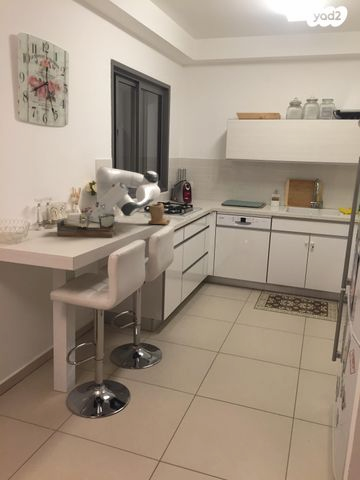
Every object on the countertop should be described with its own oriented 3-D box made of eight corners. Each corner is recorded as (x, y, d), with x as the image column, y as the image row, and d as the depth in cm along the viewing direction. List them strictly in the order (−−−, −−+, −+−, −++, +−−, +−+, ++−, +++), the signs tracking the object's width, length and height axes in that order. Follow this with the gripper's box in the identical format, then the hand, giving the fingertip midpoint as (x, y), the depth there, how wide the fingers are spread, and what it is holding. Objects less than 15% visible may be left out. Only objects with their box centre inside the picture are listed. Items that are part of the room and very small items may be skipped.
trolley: (68, 226, 251) (67, 207, 249) (89, 226, 252) (89, 207, 250) (64, 229, 242) (64, 209, 239) (86, 229, 242) (86, 210, 240)
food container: (108, 227, 272) (108, 212, 270) (114, 228, 269) (114, 213, 267) (93, 229, 263) (93, 214, 261) (100, 231, 259) (100, 215, 257)
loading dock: (63, 231, 254) (63, 218, 253) (115, 232, 256) (115, 220, 254) (57, 236, 240) (57, 222, 238) (112, 237, 241) (112, 224, 240)
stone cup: (146, 225, 288) (146, 203, 284) (149, 222, 299) (150, 202, 296) (167, 226, 286) (168, 205, 283) (170, 223, 297) (171, 203, 294)
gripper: (107, 210, 235) (90, 226, 236) (111, 206, 255) (95, 221, 256) (99, 202, 234) (82, 218, 235) (104, 198, 254) (88, 213, 255)
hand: (89, 220), depth 246 cm, fingers closed, pressing on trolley
